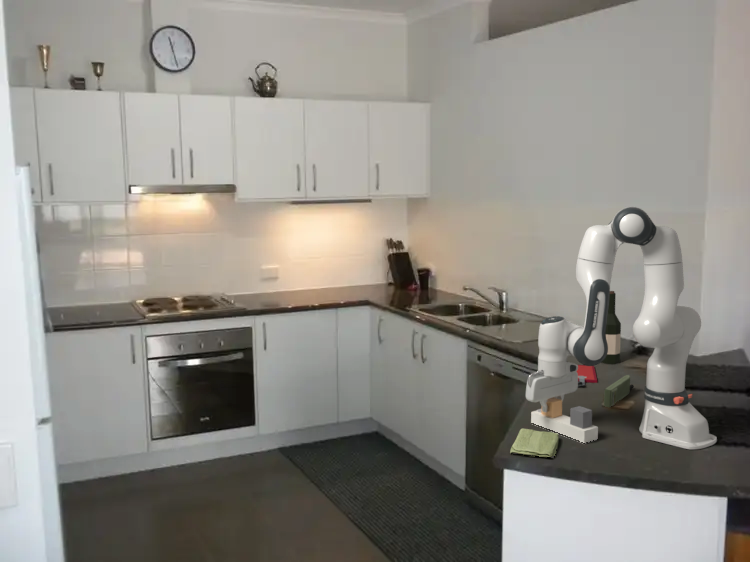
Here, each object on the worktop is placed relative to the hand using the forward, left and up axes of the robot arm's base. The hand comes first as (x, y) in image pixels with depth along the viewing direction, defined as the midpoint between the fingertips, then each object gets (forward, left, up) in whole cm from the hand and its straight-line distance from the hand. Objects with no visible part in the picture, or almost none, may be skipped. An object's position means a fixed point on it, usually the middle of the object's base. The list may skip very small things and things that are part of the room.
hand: (551, 409), depth 238 cm
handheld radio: (+6, -41, -6) cm, 42 cm away
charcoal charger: (-12, 0, -4) cm, 13 cm away
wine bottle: (+40, -77, -6) cm, 87 cm away
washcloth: (-9, +16, -6) cm, 20 cm away
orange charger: (0, 0, -4) cm, 4 cm away
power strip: (-5, 0, -6) cm, 8 cm away
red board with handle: (+34, -49, -6) cm, 60 cm away
